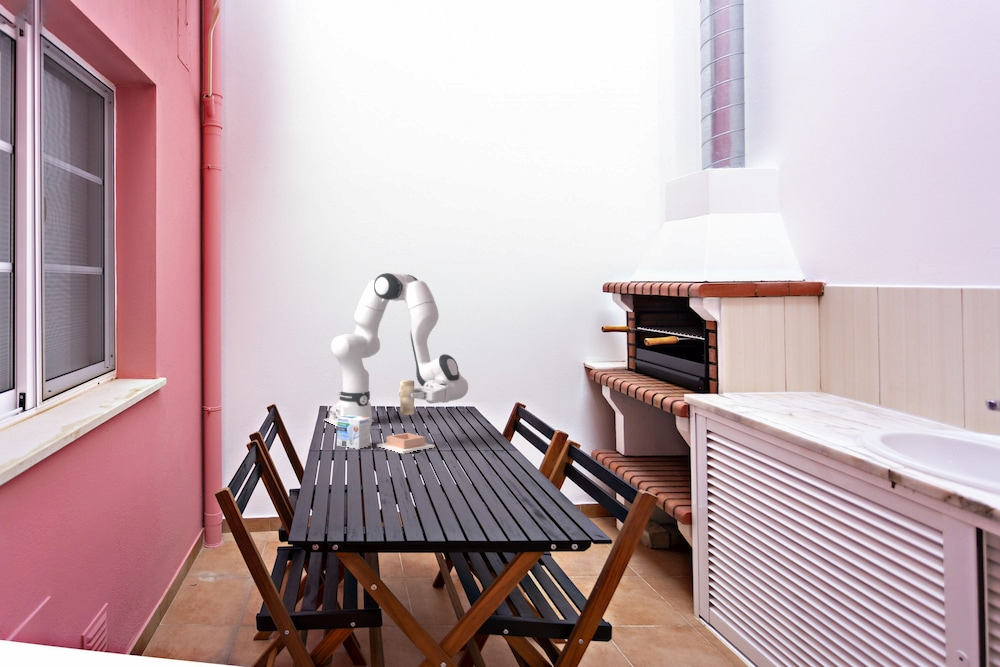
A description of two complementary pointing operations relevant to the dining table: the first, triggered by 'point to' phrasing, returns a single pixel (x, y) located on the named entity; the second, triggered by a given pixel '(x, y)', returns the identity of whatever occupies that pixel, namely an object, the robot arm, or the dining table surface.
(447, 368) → the robot arm
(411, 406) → the ash peg
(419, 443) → the collar base
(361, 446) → the light bulb box
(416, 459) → the dining table surface
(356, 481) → the dining table surface
